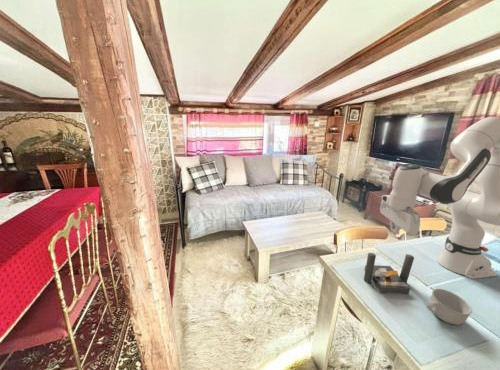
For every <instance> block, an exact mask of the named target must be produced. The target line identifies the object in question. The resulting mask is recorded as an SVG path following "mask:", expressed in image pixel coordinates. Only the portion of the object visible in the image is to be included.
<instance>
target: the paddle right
mask: <svg viewBox="0 0 500 370" xmlns="http://www.w3.org/2000/svg"><path fill="white" fill-rule="evenodd" d="M386 272H387V271H386V268H379V269H378V270H377V271H376V272H374V276H377V277H381V276H382V275H384V274H385V273H386Z"/></svg>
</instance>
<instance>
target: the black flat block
mask: <svg viewBox="0 0 500 370" xmlns="http://www.w3.org/2000/svg"><path fill="white" fill-rule="evenodd" d="M379 268H386V271H387V272H389V271H395V270H394V269H393V267H392V266H390V265H375V264H374V269H373V274H372V280H371V282H372V283H373V284H374V285H375V287H376V289H377V290H378V292H379V293H381V294H404V295H409V294H410V291H411V287H410V286H409V285H408V284H407V283H405V282H404V281H403V280H402V278H401V277H400V274H398V275H396V276H393V277H385V276H384V275H382V276H381V277H377V276H374V272H376V271H377V270H378V269H379ZM365 269H366V264H365V267H364V270H365ZM387 272H386V273H387Z"/></svg>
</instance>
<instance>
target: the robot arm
mask: <svg viewBox="0 0 500 370" xmlns="http://www.w3.org/2000/svg"><path fill="white" fill-rule="evenodd" d="M449 148H450V152H451V154H452V155H453V156H454V158H456V159H458V160H459V161H461V162H463V163H464V164H463V165H462V166H461V167H460V168H459V170H458V171H457V172H456V173H455V174H454V175H443V174H437V173H434V172H431V171H427V170H426V169H424V168H423V166H421V165H419V164H415V163H406V164H401V165H400V166H398V167H397V169H396V171H395V173H394V177H393V179H392V184H391V185H392V189H391V192H390V193H389V194H383V195H381V201H380V206H379V212H380V214H381V215H382V216H384V217H385V218H387V219H388V220H389V224H390V228H389V229H390V231H392V232H393V233H394V234H397V235H398V234H400V231H401V230H402V231H404V232H405V233H407V234H409V235H417V234H418V233H419V232H420V226H421V218H420V214H419V212H418V211H416V210H415V207H416V206H415V205H416V201H417V198H418V197H417V195H420V196H423V197H425V198H428V199H431V200H434V201H435V202H438V203H440V204H443V205H445V206H446V207H447V208H448V209H449V212H450V215H451V228H450V231H449V234H448V236H447V237H446V239H445V243H444V244H443V247H442V248H441V250H440V251H439V252H438V254H437V257H436V262H437V263H438V264H439V265H441V267H443V268H445V269H447V270H449V271H451V272H453V273H456V274H459V275H461V276H462V275H463V276H465V277H467V278H469V279H473V280H474V279H483V278H489V277H490V278H491V277H492V278H493V277H496V276H497V273H496V271H495V270H494V269H493V268H492V261H491V260H490V259H489V258H488V257H487V256H486V255H484V254H483V253H482V252H484V253H487V252H488V251H489V248H488V247H485V246H484V245H483V246H482V242H483V240H484V237H485V235H486V232H485V229H484V228H483V227H482V226H481V224H479V222H478V221H481V222H483V223H485V224H490V225H494V226H497V227H500V117H497V116H488V117H485V118H482V119H479V120H477V121H476V122H475V123H473V124H472V125H470V126H468V127H466V129H464V130H462V132H460V133H459V134H458V135H457V136H455V138H454V139H453V140H452V141H451V143H450V147H449ZM473 182H475V184H476V185H477V186H479V187H480V194H479V193H476V192H472V191H469V190H468V188H469V187H470V186H471V185H472V183H473Z"/></svg>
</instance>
